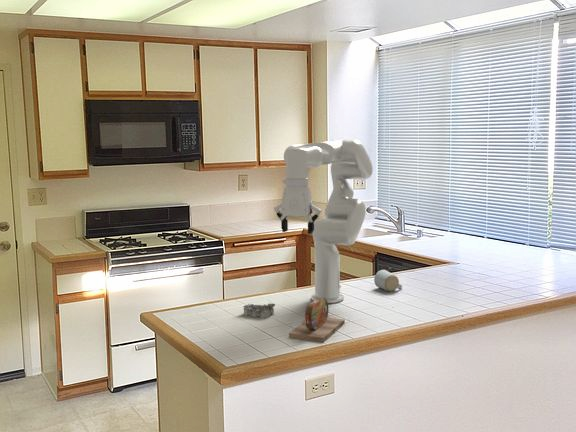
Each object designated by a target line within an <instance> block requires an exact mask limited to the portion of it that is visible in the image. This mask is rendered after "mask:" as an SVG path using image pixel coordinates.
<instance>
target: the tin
mask: <svg viewBox="0 0 576 432" xmlns="http://www.w3.org/2000/svg"><path fill="white" fill-rule="evenodd" d="M304 312H305V313H304V317H305V319H304V321H305V320H306V326H307V328H308V329H315V330H317V329H318V328H319V327H320V326H321V325H323V324H324V323H325V322H326V320H327V317H329V303H327V300H326V299H325V298H323V299H322V298H318V299H316V300H314V301H313V300H312V302H311V303H309V304H308V305H307V306H306V308H305V310H304Z"/></svg>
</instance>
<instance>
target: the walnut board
mask: <svg viewBox="0 0 576 432" xmlns="http://www.w3.org/2000/svg"><path fill="white" fill-rule="evenodd" d="M345 323H346V321H345V319H344V318H337V317H329V316H328V317H327V320H326V322H325V323H324V324H323V325H321V326H320V327H319V328H318V329H317V330H315V329H308V328H307V326H306V320H305V319H304V321H303V322H300V324H298V325H297V326H296V327H295V328H294V329H292V330H291V331H289V333H288V338H289V339H299V340H306V341H312V342H320V343H325V342H326V341H327V340H328V339H329V338H330V337H332V336H333V334H335V333H336V332H337V331H338V330H339V329H340V328H342V327H343V326H344V325H345ZM343 324H344V325H343Z"/></svg>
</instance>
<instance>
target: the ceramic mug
mask: <svg viewBox="0 0 576 432" xmlns="http://www.w3.org/2000/svg"><path fill="white" fill-rule="evenodd" d="M373 281H374V284H375V286H376V287H377V288H379V289H381V290H384V291H387V292H394V291H396V290H397V289H399V290H400V289H402V287H403V284H400V283H399V282H400V280H399V278H398V276H397V275H395V274H394V273H392V272H390V271H389V270H386V269H381V270H378V271H377V272H376V274H375V275H374V278H373Z"/></svg>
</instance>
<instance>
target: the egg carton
mask: <svg viewBox="0 0 576 432" xmlns="http://www.w3.org/2000/svg"><path fill="white" fill-rule="evenodd" d="M275 307H276V304H275V303H268V304H254V303H248V304H244V305H242V308H243V315H244V316H247V317H248V316H252V315H253V316H252V317H253V318H257V316H260V319H269V318H270V316H274V315H275V309H274V308H275Z"/></svg>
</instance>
